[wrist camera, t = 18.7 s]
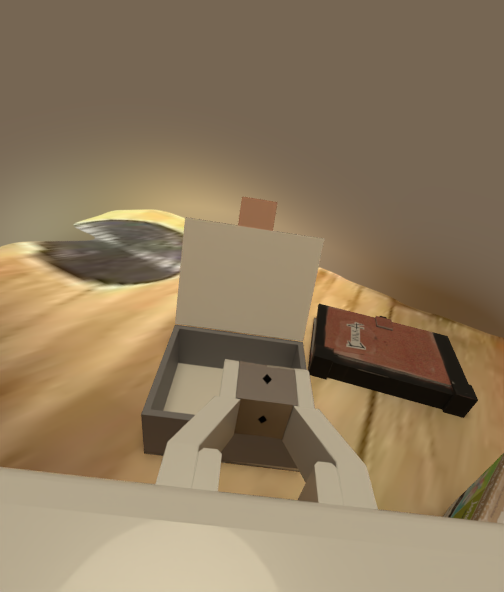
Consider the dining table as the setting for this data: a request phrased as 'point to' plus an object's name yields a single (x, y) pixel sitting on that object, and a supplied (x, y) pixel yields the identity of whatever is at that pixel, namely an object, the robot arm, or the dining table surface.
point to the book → (389, 359)
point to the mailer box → (212, 389)
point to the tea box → (482, 497)
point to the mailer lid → (247, 275)
